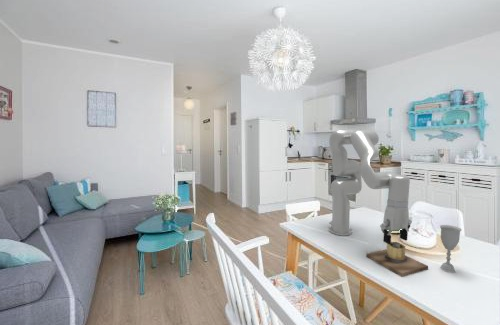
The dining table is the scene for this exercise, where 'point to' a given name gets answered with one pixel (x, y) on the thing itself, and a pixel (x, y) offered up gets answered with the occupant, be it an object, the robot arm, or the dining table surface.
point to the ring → (396, 251)
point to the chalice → (449, 244)
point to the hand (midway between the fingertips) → (395, 241)
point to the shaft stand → (397, 262)
